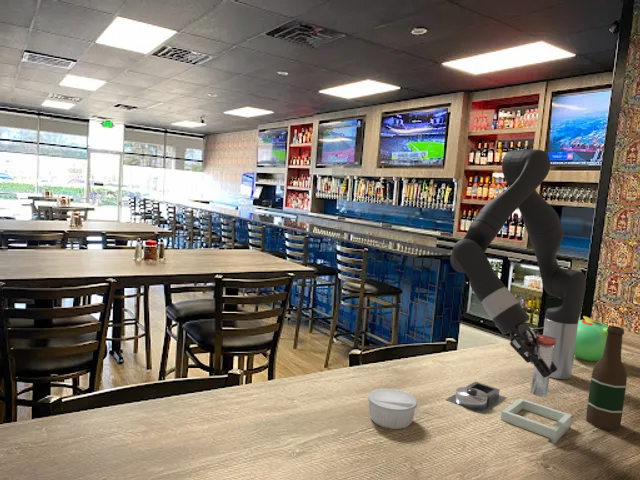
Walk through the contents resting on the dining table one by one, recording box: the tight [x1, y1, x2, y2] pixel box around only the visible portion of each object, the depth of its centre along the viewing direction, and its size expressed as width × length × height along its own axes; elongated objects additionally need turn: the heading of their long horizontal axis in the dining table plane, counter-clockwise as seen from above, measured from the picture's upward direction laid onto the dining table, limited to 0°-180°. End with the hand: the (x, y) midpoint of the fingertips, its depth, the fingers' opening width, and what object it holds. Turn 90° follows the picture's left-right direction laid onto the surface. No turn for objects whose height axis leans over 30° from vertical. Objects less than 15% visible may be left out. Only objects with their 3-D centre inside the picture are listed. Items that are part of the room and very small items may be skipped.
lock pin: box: [530, 334, 556, 398], centre depth 112 cm, size 4×4×13 cm
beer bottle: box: [585, 325, 628, 431], centre depth 116 cm, size 8×8×24 cm
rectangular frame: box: [500, 397, 573, 445], centre depth 113 cm, size 12×12×3 cm
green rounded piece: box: [574, 315, 624, 362], centre depth 168 cm, size 18×17×15 cm
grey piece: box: [445, 381, 507, 415], centre depth 124 cm, size 15×10×4 cm, turn 138°
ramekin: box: [367, 387, 418, 430], centre depth 110 cm, size 11×11×5 cm
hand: (550, 373), depth 111 cm, fingers closed on lock pin, 3 cm apart
